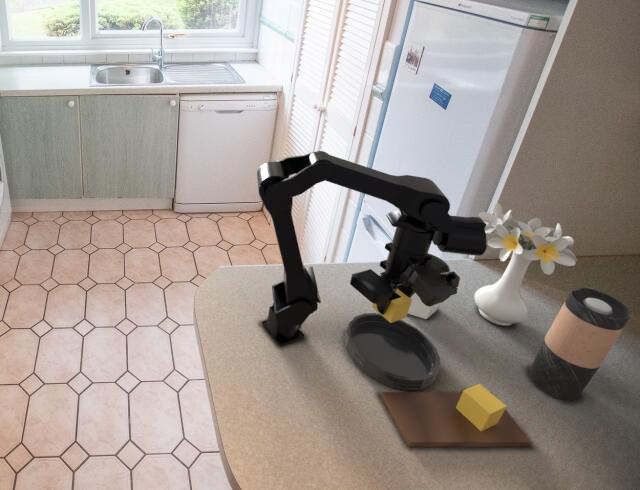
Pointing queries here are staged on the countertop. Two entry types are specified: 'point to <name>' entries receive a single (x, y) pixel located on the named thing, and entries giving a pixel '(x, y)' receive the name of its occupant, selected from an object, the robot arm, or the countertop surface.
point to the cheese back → (396, 308)
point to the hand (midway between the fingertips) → (389, 310)
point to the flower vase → (518, 263)
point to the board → (446, 422)
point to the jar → (418, 307)
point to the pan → (392, 352)
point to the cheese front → (480, 407)
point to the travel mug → (578, 342)
